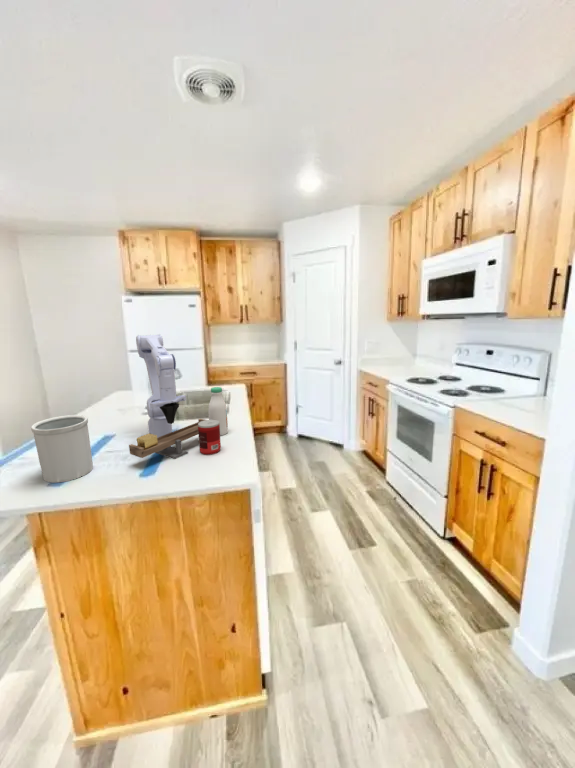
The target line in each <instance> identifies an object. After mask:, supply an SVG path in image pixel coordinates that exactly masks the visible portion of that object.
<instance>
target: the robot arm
mask: <svg viewBox="0 0 575 768" xmlns="http://www.w3.org/2000/svg"><path fill="white" fill-rule="evenodd" d="M135 343H136V349H137V354H138V355H139V357H140V358H141V359H143V360H144V363H145V365H146V370H147V371H146V372H147V376H148V380H149V386H150V391H151V396H150V397H149V398H147V400H146V408H147V409H146V410H147V414H148V417H149V419H148V421H147V427H148V428H147V429H148V434H149V433H150V434H154V435H157V438H158V437H160V436H163V435H166V434H168V433H171V432H173V425H172V424H175V418H176V415H177V411H178V409H179V407H180V406H179V405H180V404H179V403H180V402H185V401H187V398H186V397H187V396H186V395H177V386H176V376H175V370H176V368H177V361H176V360H177V359H176V357H175V355H174V353H171V354H170V353H169V352H168V350H167V348H165V347H164V338H163V336H162V335H161V334H160V333H159V334H152V335H151V334H147V335H139V334H137V335H136V337H135Z"/></svg>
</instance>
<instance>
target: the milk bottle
mask: <svg viewBox="0 0 575 768" xmlns="http://www.w3.org/2000/svg"><path fill="white" fill-rule="evenodd" d="M222 393H223V388H222V387H221V386H214V387H211V388H210V394H211V397H210V400H209V404H208V407H207V408H208V411H207V413H208V420H217V421H219V425H220V436H224V435H227V434H228V432H229V429H228V428H229V427H228V411H227V409H228V408H227V404H226V402H225V399H224V397H223V394H222Z"/></svg>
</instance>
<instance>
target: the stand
mask: <svg viewBox="0 0 575 768" xmlns="http://www.w3.org/2000/svg"><path fill="white" fill-rule="evenodd" d="M160 437H161V436H160ZM174 445H175V447H174V446H170V447H167V448H165V449H163V450H160V451H158V452H155V453H154V454H157V455H161V456H163V457H167V458H170V459H173V460H176V459H178V458H180V457H183V456H185V455H188V454H189V451H188V450H184V449H182V441H181V440H176V441H175V444H174Z"/></svg>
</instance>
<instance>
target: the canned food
mask: <svg viewBox="0 0 575 768" xmlns="http://www.w3.org/2000/svg"><path fill="white" fill-rule="evenodd" d="M198 446H199V452H200V453H201V454H202V455H215V454H218V453H219V452H220V451H221V448H222V446H221V435H220V425H219V421H217V420H209V419H205V420H204V421H201V422H199V423H198Z"/></svg>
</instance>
